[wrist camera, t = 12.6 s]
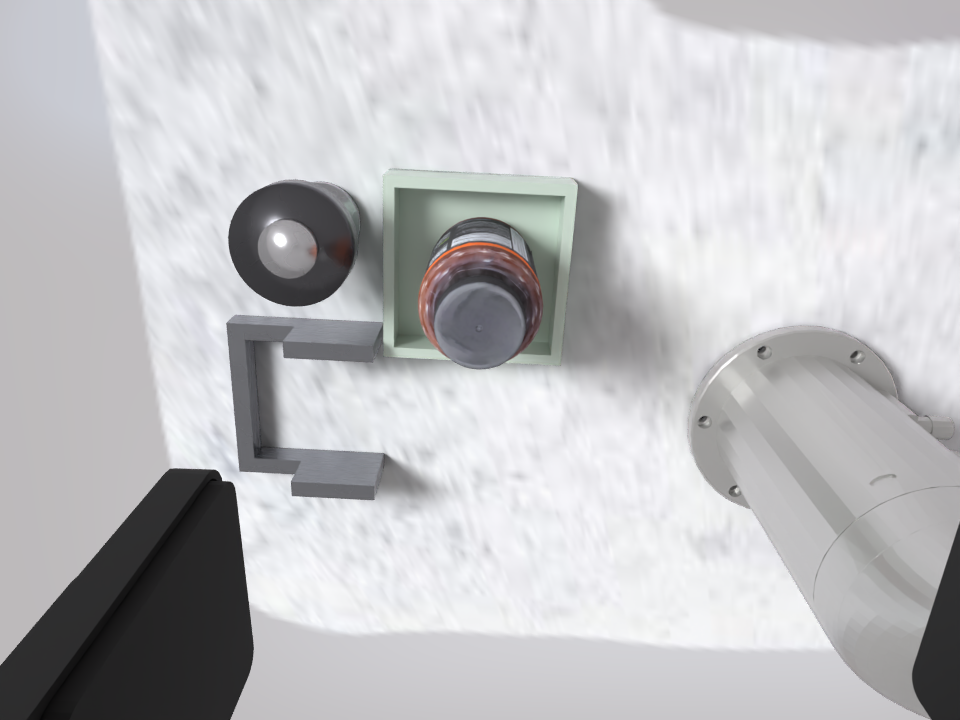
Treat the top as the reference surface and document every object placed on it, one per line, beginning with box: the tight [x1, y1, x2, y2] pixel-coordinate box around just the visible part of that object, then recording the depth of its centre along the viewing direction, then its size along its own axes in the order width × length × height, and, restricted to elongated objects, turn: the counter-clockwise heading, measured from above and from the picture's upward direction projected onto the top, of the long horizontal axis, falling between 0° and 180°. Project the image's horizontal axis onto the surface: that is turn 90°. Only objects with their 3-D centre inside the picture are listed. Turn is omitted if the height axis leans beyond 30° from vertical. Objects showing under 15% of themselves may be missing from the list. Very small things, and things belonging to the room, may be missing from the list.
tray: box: [383, 169, 578, 366], centre depth 40 cm, size 10×10×3 cm
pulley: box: [228, 180, 361, 306], centre depth 37 cm, size 6×6×8 cm
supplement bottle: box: [418, 217, 543, 369], centre depth 36 cm, size 6×6×11 cm
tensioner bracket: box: [227, 315, 384, 500], centre depth 43 cm, size 9×10×4 cm
